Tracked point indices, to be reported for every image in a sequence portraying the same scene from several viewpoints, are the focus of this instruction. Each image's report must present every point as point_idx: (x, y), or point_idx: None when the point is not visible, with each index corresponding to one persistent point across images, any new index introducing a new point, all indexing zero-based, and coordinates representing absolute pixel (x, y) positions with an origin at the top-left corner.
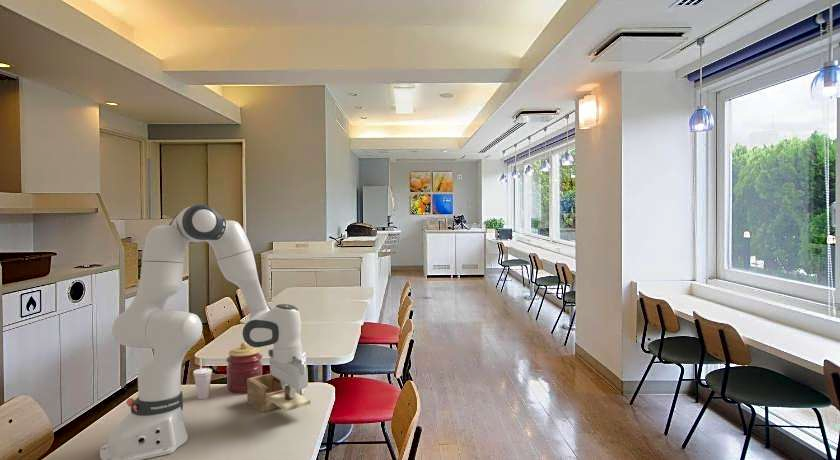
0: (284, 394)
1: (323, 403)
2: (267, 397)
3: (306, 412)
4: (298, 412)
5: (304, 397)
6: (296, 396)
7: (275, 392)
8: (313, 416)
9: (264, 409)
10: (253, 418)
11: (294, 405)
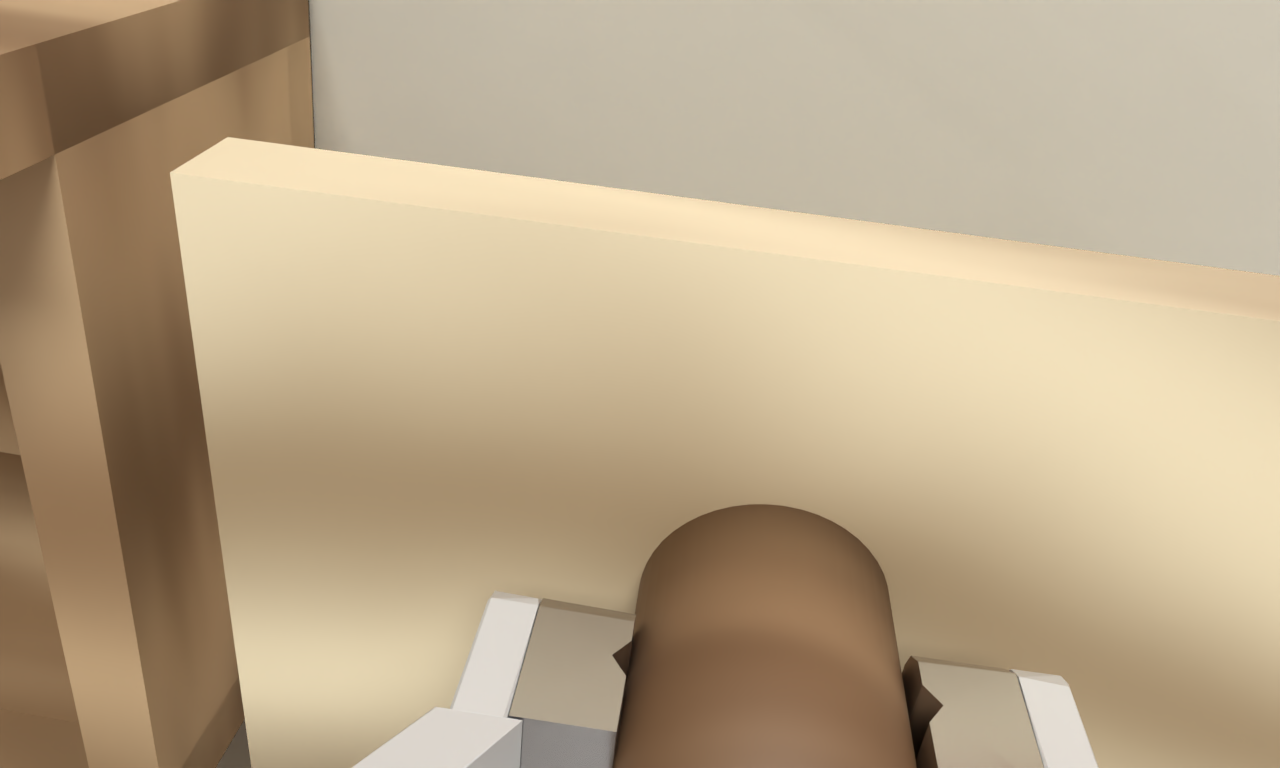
0: (385, 521)
1: None
2: (194, 716)
3: (929, 31)
4: (772, 157)
5: (1125, 312)
6: (807, 413)
7: (121, 607)
8: (1274, 66)
9: None
10: None
11: (1275, 765)
